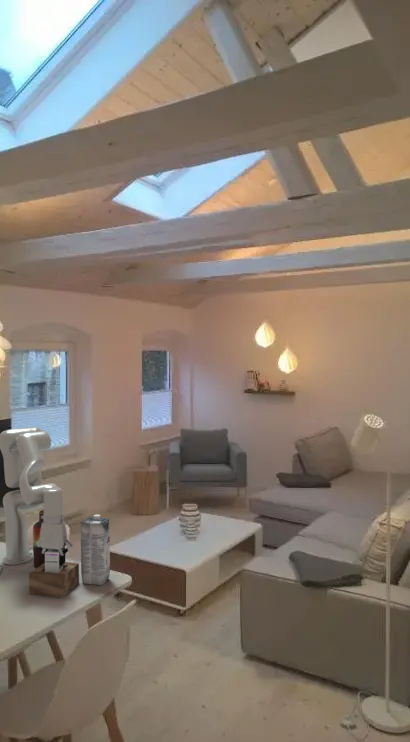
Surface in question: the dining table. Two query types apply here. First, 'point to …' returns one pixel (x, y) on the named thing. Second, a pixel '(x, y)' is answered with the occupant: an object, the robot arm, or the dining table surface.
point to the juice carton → (95, 550)
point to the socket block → (54, 580)
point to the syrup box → (52, 561)
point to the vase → (36, 536)
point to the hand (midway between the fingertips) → (54, 563)
